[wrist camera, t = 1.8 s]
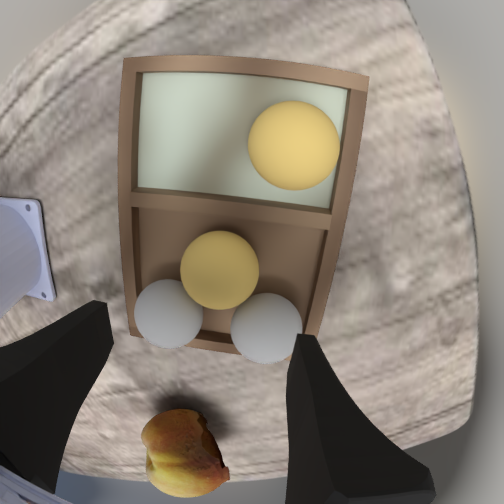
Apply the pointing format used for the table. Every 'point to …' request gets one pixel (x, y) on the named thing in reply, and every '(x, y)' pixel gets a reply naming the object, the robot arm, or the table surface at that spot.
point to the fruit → (182, 454)
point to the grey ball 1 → (167, 314)
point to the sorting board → (229, 177)
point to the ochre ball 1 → (219, 270)
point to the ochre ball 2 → (293, 145)
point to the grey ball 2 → (265, 328)
